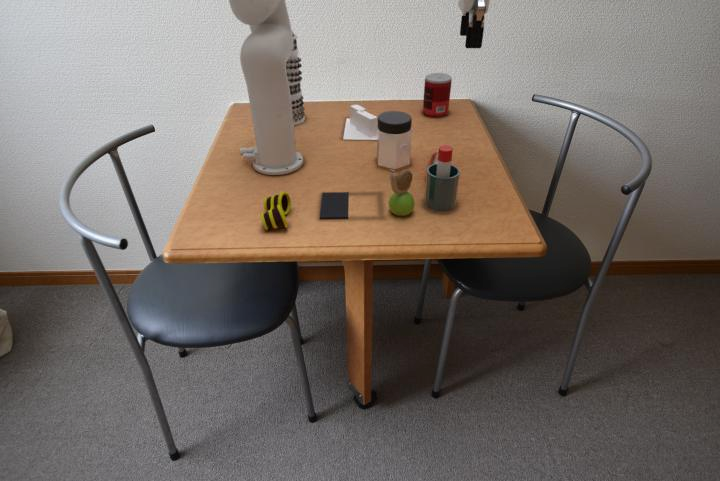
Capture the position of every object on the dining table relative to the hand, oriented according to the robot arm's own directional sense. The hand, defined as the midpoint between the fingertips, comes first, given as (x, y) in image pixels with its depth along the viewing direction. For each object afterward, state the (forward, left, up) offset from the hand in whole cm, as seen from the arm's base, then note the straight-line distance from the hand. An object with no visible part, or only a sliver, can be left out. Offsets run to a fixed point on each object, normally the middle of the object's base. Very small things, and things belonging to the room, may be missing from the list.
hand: (470, 41), depth 99 cm
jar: (-15, +3, -30) cm, 34 cm away
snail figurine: (-15, -20, -30) cm, 39 cm away
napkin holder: (-22, +24, -30) cm, 45 cm away
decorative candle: (-44, +31, -30) cm, 62 cm away
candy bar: (-5, -3, -30) cm, 31 cm away
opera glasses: (-41, -22, -30) cm, 55 cm away
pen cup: (-6, -17, -30) cm, 35 cm away
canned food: (0, +35, -30) cm, 46 cm away
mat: (-26, -17, -30) cm, 43 cm away
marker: (-6, -17, -29) cm, 34 cm away
